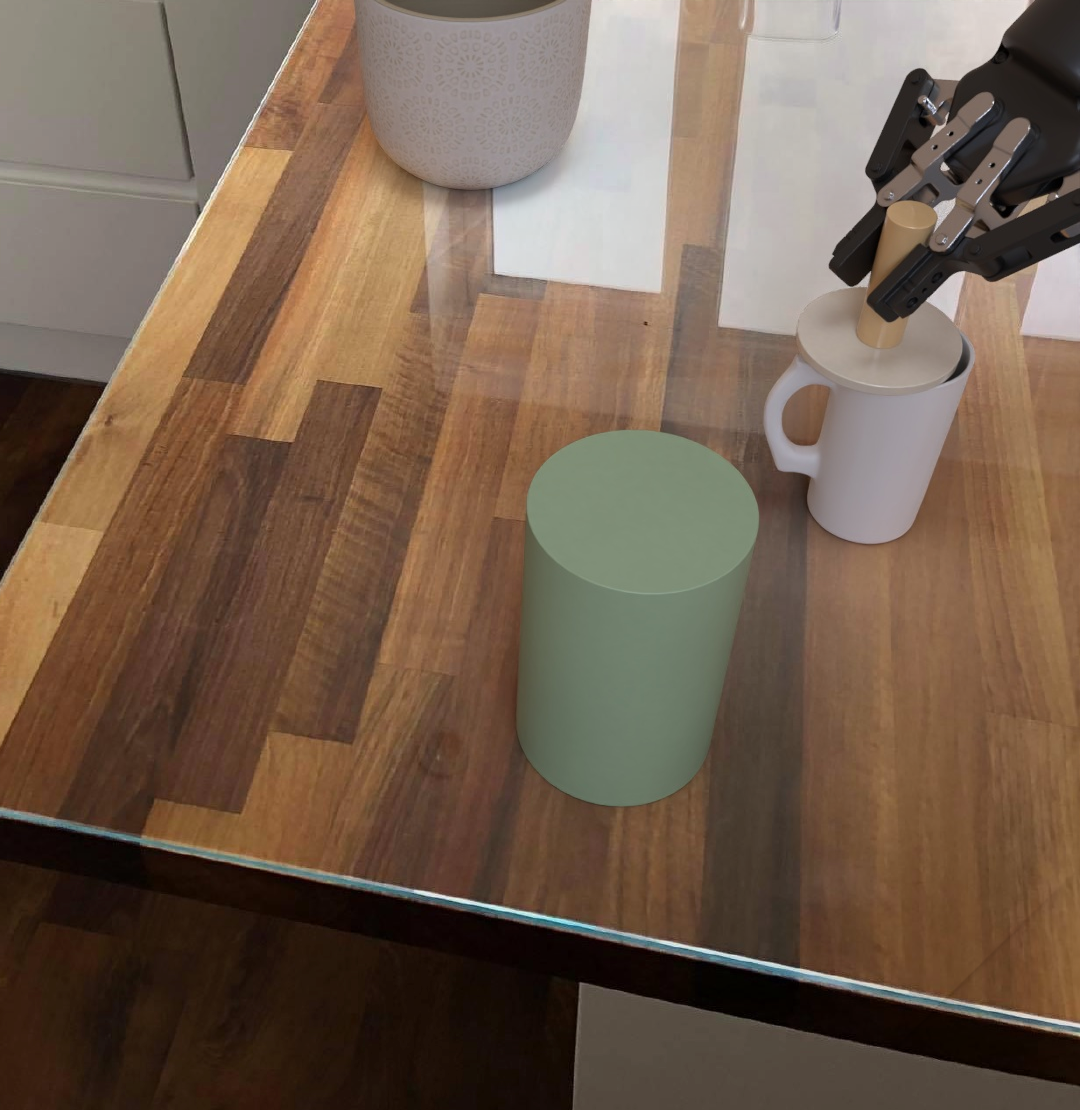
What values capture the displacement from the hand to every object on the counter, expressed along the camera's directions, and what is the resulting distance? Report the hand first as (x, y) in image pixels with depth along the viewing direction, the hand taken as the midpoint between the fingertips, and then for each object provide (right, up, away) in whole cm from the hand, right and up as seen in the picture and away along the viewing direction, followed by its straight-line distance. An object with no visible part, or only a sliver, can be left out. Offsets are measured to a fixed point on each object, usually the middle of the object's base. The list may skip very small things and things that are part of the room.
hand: (859, 294), depth 70 cm
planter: (-18, +18, +39) cm, 47 cm away
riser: (-12, -22, +2) cm, 25 cm away
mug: (+2, -10, +12) cm, 16 cm away
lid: (+2, -2, +3) cm, 4 cm away
